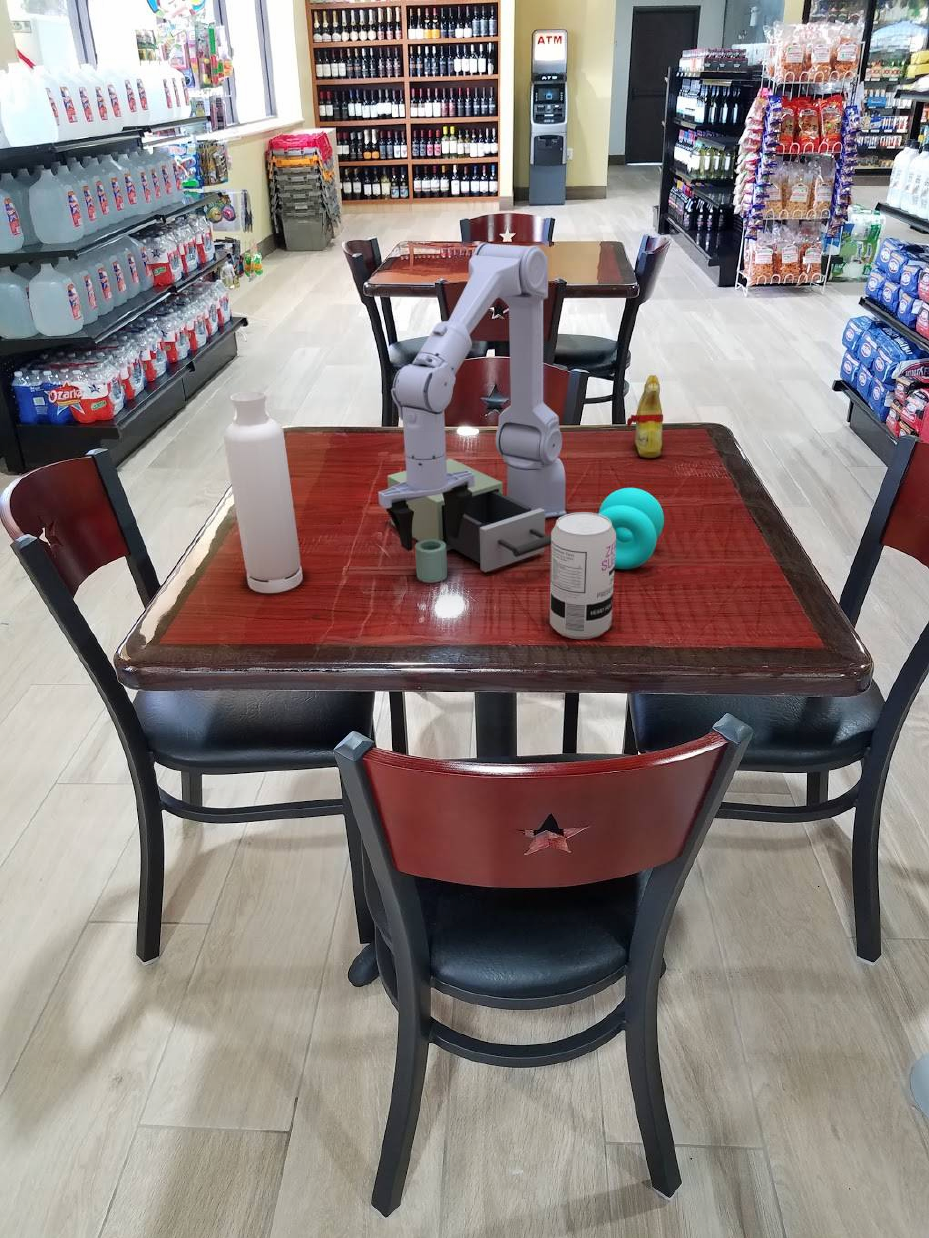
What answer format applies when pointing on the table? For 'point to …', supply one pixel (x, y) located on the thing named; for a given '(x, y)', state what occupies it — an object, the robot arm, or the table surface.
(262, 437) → the bottle
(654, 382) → the chocolate bunny
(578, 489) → the table surface
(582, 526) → the supplement can
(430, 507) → the green drawer cabinet
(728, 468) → the table surface
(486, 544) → the drawer
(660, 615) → the table surface
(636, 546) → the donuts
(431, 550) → the jar
